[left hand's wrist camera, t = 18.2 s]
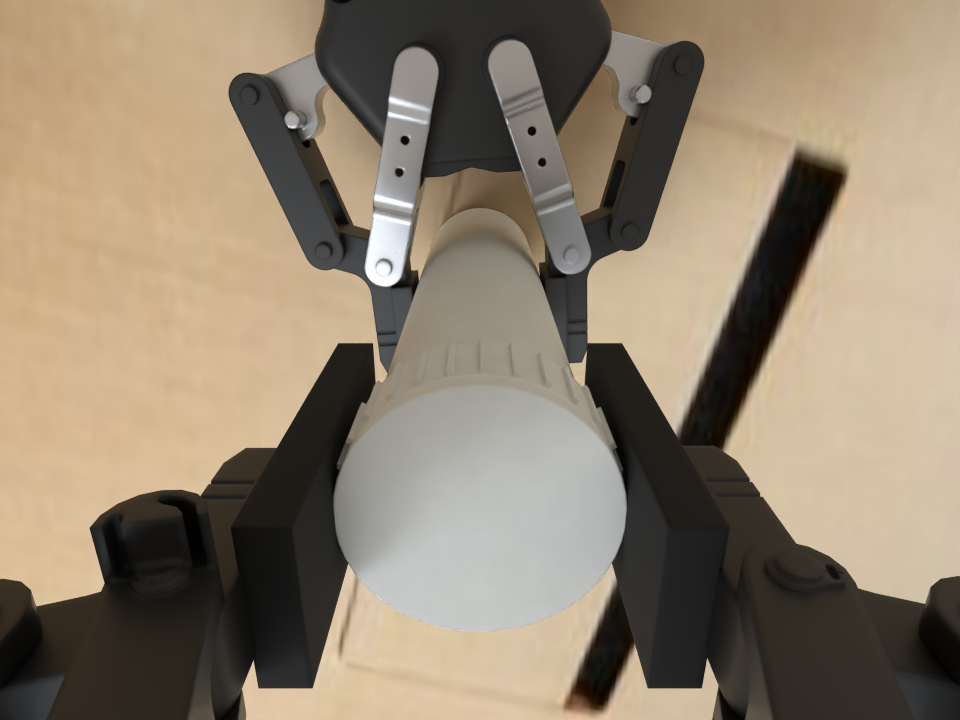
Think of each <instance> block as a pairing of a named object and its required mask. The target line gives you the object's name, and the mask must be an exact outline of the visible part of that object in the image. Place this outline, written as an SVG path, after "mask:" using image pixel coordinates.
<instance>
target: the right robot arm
mask: <svg viewBox="0 0 960 720" xmlns="http://www.w3.org/2000/svg"><path fill="white" fill-rule="evenodd" d="M601 67H602V68H604V69H605V70H606V71H607V72H608V73H609V74H610V76H611V79H612V83H613V91H612V102H613V105H614V107H615V109H616V110H617V111H618V112H619V113H621V114H622V115H625V116H626V120H625V123H624V126H623V130H622V133H621V136H620V140H619V143H618V147H617V150H616V153H615V157H614V160H613V163H612V167H611V170H610V174H609V177H608V180H607V184H606V187H605V190H604V194H603V197H602V201H601V204H600V207H599V209H596V210H594V211H592V212H590V213H587V214H585V215H583V216H580V215H579V211H578V208H577V205H576V202H575V198H574V193H573V188H572V185H571V181H570V178H569V175H568V172H567V169H566V165H565V162H564V159H563V156H562V153H561V150H560V146H559V143H558V140H557V135H558V134H559V132H560V131H561V129H562V128H563V126H564V124H565V123H566V121H567V120H568V118H569V117H570V115H571V113H572V112H573V110H574V109H575V107H576V105H577V104H578V102H579V101H580V99H581V98H582V96H583V94H584V93H585V91H586V90H587V88H588V87H589V85H590V83H591V82H592V80H593V79H594V77H595V76H596V74H597V72H598V71H599V69H600V68H601ZM703 68H704V56H703V53H702V51H701V49H700V48H699V47H698V46H697V45H696V44H695V43H693V42H689V41H681V42H674V43H670V44H663V43H659V42H655V41H651V40H647V39H644V38H640V37H636V36H632V35H628V34H625V33H621V32H617V31H613V30H612V29H611V23H610V19H609V16H608V14H607V12H606V10H605V8H604V6H603V5H602V3H601V0H325V4H324V13H323V18H322V22H321V25H320V28H319V31H318V33H317V37H316V41H315V53H313V54H311V55H308V56H306V57H304V58H302V59H299V60H297V61H295V62H292V63H290V64H288V65H286V66H283V67H281V68H279V69H276V70H274V71H272V72H270V73H267V74H264V75H262V74H254V73H242V74H239V75H237V76H236V77H235V78H234V79H233V80H232V82H231V84H230V87H229V99H230V102H231V104H232V106H233V108H234V110H235V112H236V115H237V117H238V119H239V121H240V123H241V125H242V127H243V129H244V131H245V133H246V135H247V137H248V139H249V141H250V143H251V145H252V147H253V149H254V151H255V153H256V155H257V158H258V160H259V162H260V164H261V166H262V168H263V170H264V172H265V174H266V176H267V178H268V180H269V182H270V184H271V186H272V188H273V190H274V192H275V194H276V196H277V199H278V201H279V203H280V205H281V207H282V209H283V211H284V213H285V215H286V217H287V219H288V221H289V223H290V225H291V227H292V229H293V231H294V233H295V235H296V237H297V240H298V242H299V244H300V246H301V248H302V250H303V252H304V254H305V256H306V258H307V260H308V261H309V262H310V264H311V265H313V266H314V267H316V268H318V269H320V270H331V269H333V268H334V269H338V270H341V271H345V272H349V273H352V274H355V275H357V276H359V277H360V278H362V279H363V280H364V281H365V282H366V283H367V285H368V286H369V288H370V291H371V295H372V303H373V310H374V317H375V325H376V332H377V340H378V345H379V346H378V347H379V354H380V361H381V363H382V365H383V366H384V368H385V370H386V371H387V373H388V371H389V368H390V365H391V362H392V360H393V357H394V354H395V351H396V348H397V345H398V342H399V339H400V336H401V333H402V330H403V327H404V324H405V321H406V319H407V316H408V313H409V310H410V307H411V304H412V301H413V298H414V295H415V292H416V289H417V286H418V283H419V277H418V270H415V271H411V264H410V256H411V251H412V245H413V240H414V235H415V230H416V225H417V219H418V214H419V209H420V205H421V201H422V197H423V192H424V187H425V182H426V177H440V176H447V175H450V174H453V173H455V172H458V171H461V170H464V169H467V168H470V167H473V168H479V169H483V170H488V171H493V172H511V171H520V173H521V176H522V179H523V182H524V184H525V187H526V190H527V193H528V196H529V198H530V201H531V204H532V207H533V210H534V213H535V215H536V218H537V221H538V224H539V227H540V230H541V233H542V236H543V239H544V242H545V262H542V263H539V272H540V280H541V283H542V286H543V289H544V292H545V294H546V297H547V300H548V303H549V306H550V309H551V312H552V315H553V318H554V321H555V324H556V327H557V330H558V333H559V336H560V339H561V342H562V344H563V347H564V350H565V353H566V356H567V359H568V362H569V363H580V362H582V360H583V358H584V355H585V353H586V351H587V277H588V273H589V270H590V269H591V267H592V266H593V264H594V263H595V262H596V261H598V260H599V259H601V258H603V257H605V256H607V255H610V254H612V253H614V252H617V251H619V250H624V251H632V250H635V249H638V248H639V247H641V246H642V245H643V244H644V243H645V241H646V240H647V238H648V235H649V232H650V229H651V226H652V223H653V220H654V217H655V214H656V211H657V208H658V205H659V202H660V199H661V196H662V193H663V190H664V187H665V184H666V181H667V178H668V175H669V172H670V169H671V166H672V163H673V160H674V156H675V153H676V150H677V147H678V144H679V141H680V138H681V135H682V132H683V129H684V126H685V123H686V120H687V117H688V114H689V111H690V108H691V105H692V102H693V99H694V96H695V93H696V90H697V87H698V84H699V81H700V78H701V75H702V72H703ZM330 88H331V89H332V90H333V91H334V92H335V93H336V94H337V96H338V97H339V98H340V99H341V100H342V102H343V103H344V104H345V105H346V106H347V107H348V109H349V110H350V111H351V112H352V113H353V114H354V116H355V117H356V118H357V119H358V120H359V122H360V123H361V124H362V125H363V126H364V127H365V129H366V130H367V131H368V132H369V133H370V135H371V136H372V137H373V138H374V139H375V140H376V142H377V143H378V144H379V145H380V146H381V147H382V150H381V156H380V162H379V169H378V175H377V181H376V187H375V193H374V200H373V218H372V224H371V230H367V229H364V228H360V227H357V226H354V225H353V223H352V221H351V219H350V216H349V214H348V212H347V210H346V208H345V205H344V203H343V201H342V199H341V196H340V194H339V192H338V190H337V188H336V185H335V183H334V181H333V179H332V177H331V174H330V172H329V170H328V168H327V165H326V163H325V161H324V159H323V157H322V154H321V152H320V150H319V148H318V146H317V143H316V141H315V139H314V138H316V137H318V136H319V135H320V134H321V133H322V131H323V130H324V127H325V115H324V111H323V98H324V95H325V93H326V92H327V91H328V90H329V89H330Z"/></svg>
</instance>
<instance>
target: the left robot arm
mask: <svg viewBox="0 0 960 720" xmlns="http://www.w3.org/2000/svg"><path fill="white" fill-rule="evenodd" d="M375 383H376V382H375V367H374V352H373V343H338V345H337V347H336V348H335V350H334V352H333V354H332V355H331V357H330V359H329V360H328V362H327V364H326V365H325V367H324V369H323V371H322V372H321V374H320V376H319V377H318V379H317V381H316V382H315V384H314V386H313V388H312V389H311V391H310V393H309V394H308V396H307V398H306V399H305V401H304V403H303V405H302V406H301V408H300V410H299V411H298V413H297V415H296V416H295V418H294V420H293V422H292V423H291V425H290V427H289V428H288V430H287V432H286V433H285V435H284V437H283V439H282V440H281V442H280V444H279V445H278V447H277V448H245V449H244V450H242V451H241V452H239V453H238V454H237V455H235V456H234V457H232V458H231V459H229V460H228V461H226V462H225V463H224V464H223V465H222V466H221V468H220V469H219V471H218V472H217V473H216V475H215V476H214V478H213V479H212V480H211V484H209V485H208V486H207V487H206V489H205V490H204V492H203V493H202V495H201V496H199V495H198V494H196V493H192V492H188V491H184V490H161V491H156V492H151V493H147V494H142V495H138V496H136V497H133V498H131V499H128V500H126V501H123V502H121V503H119V504H117V505H115V506H114V507H112V508H111V509H109V510H108V511H106V512H105V513H103V514H102V515H100V516H99V518H98V519H97V520H96V521H95V522H94V523H93V525H92V526H91V527H90V531H91V535H92V539H93V542H94V546H95V550H96V553H97V557H98V560H99V564H100V568H101V571H102V575H103V579H104V582H105V584H104V586H103V589H102V591H101V592H98V593H95V594H91V595H88V596H83V597H79V598H74V599H70V600H65V601H60V602H56V603H51V604H46V605H42V606H37V607H36V605H35V602H34V599H33V596H32V593H31V590H30V589H29V588H28V587H27V586H25V585H24V584H23V583H22V582H20V581H13V580H7V579H0V720H246V710H245V703H244V697H243V692H242V687H243V684H244V682H245V679H246V677H247V675H248V672H249V670H250V667H251V665H252V662H253V660H254V665H255V670H256V676H257V682H258V687H259V688H313V685H314V681H315V678H316V674H317V671H318V667H319V664H320V660H321V657H322V653H323V650H324V646H325V643H326V639H327V636H328V632H329V629H330V625H331V622H332V618H333V615H334V611H335V608H336V605H337V601H338V598H339V594H340V591H341V587H342V584H343V580H344V577H345V573H346V570H347V566H348V562H347V560H346V559H345V556H344V554H343V552H342V550H341V547H340V545H339V542H338V539H337V535H336V527H335V517H334V507H333V494H334V489H335V484H336V479H337V476H338V473H339V471H340V470H338V469H337V462H338V460H339V457H340V455H341V452H342V450H343V447H344V445H345V442H346V440H347V437H348V435H349V432H350V430H351V427H352V425H353V422H354V419H355V417H356V414H357V412H358V409H359V407H360V405H361V403H362V402H363V403H365V404H367V402H368V400H369V398H370V396H371V393H372V391H373V388H374V385H375ZM585 385H586V386H587V387H588V388H589V391H590V393H591V396H592V399H593V401H594V404H595V406H596V409H597V408H599V407H601V409H602V411H603V413H604V416H605V418H606V421H607V423H608V426H609V429H610V431H611V434H612V436H613V439H614V441H615V444H616V446H617V448H615V450H616V452H617V455H618V457H619V460H620V463H621V465H622V468H623V475H622V476H623V480H624V484H625V489H626V495H627V511H626V521H625V530H624V535H623V539H622V542H621V545H620V547H619V549H618V552H617V554H616V557H615V558H614V560H613V562H612V565H613V568H614V572H615V575H616V579H617V582H618V586H619V589H620V593H621V596H622V600H623V603H624V607H625V610H626V614H627V617H628V621H629V624H630V628H631V631H632V635H633V638H634V642H635V645H636V649H637V652H638V656H639V659H640V663H641V666H642V670H643V673H644V677H645V680H646V684H647V687H648V688H702V684H703V678H704V673H705V667H706V661H707V658H708V660H709V663H710V665H711V668H712V670H713V673H714V675H715V678H716V680H717V682H718V685H719V687H718V692H717V697H716V703H715V708H714V713H713V718H712V720H960V576H956V577H950V578H943V579H940V580H939V581H937V582H936V583H935V584H934V585H933V586H931V588H930V591H929V594H928V597H927V600H926V603H925V604H922V603H918V602H913V601H908V600H904V599H899V598H894V597H890V596H885V595H880V594H876V593H872V592H869V591H865V590H861V589H858V588H857V585H856V583H855V581H854V580H853V579H852V577H851V576H850V574H849V573H848V572H847V570H846V569H845V568H844V567H842V566H841V565H840V564H838V563H837V562H836V561H835V560H833V559H832V558H831V557H829V556H827V555H825V554H823V553H821V552H819V551H817V550H814V549H812V548H810V547H807V546H803V545H799V544H796V543H795V541H794V540H793V539H792V537H791V536H790V534H789V533H788V532H787V530H786V529H785V527H784V526H783V525H782V523H781V522H780V520H779V519H778V518H777V516H776V515H775V513H774V512H773V511H772V509H771V508H770V506H769V505H768V504H767V502H766V501H765V499H764V498H763V497H760V492H759V491H758V490H757V488H756V487H755V486H754V484H753V483H752V482H750V479H749V477H748V476H747V474H746V473H745V472H744V470H743V469H742V467H741V466H740V465H739V463H738V462H737V461H736V460H735V459H733V458H732V457H730V456H729V455H727V454H726V453H724V452H723V451H721V450H720V449H718V448H717V447H715V446H682V445H681V443H680V441H679V440H678V438H677V436H676V434H675V433H674V431H673V429H672V428H671V426H670V424H669V423H668V421H667V419H666V417H665V416H664V414H663V412H662V411H661V409H660V407H659V406H658V404H657V402H656V400H655V399H654V397H653V395H652V394H651V392H650V390H649V389H648V387H647V385H646V383H645V382H644V380H643V378H642V377H641V375H640V373H639V372H638V370H637V368H636V366H635V365H634V363H633V361H632V360H631V358H630V356H629V355H628V353H627V351H626V349H625V348H624V346H623V344H622V343H587V358H586V373H585Z"/></svg>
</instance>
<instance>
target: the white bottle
mask: <svg viewBox="0 0 960 720" xmlns="http://www.w3.org/2000/svg"><path fill="white" fill-rule="evenodd" d="M480 339H486V342H489V343H498V344H506V345H510V342H514V343H516V344H517V347H518V348H522V349H525V350H528V351H530V352H533V353H536V354H538V353H539V351H540V352H543V353H545V357H546V359H548V360H550V361H551V362H553V363H555V364H556V365H558V366H559V367H560V368H563V367H564V366H566V367H567V368H569V370H570V373H571V376H572V377H573V374H572V371H571V368H570V365H569V362H568V359H567V356H566V353H565V350H564V347H563V344H562V342H561V339H560V336H559V333H558V330H557V327H556V324H555V321H554V318H553V315H552V312H551V309H550V306H549V303H548V300H547V297H546V294H545V292H544V289H543V286H542V283H541V280H540V277H539V274H538V271H537V268H536V265H535V262H534V259H533V256H532V253H531V250H530V247H529V244H528V242H527V239H526V237H525V235H524V233H523V231H522V230H521V228H520V227H519V226H518V225H517V224H516V223H515V222H514V221H513V220H512V219H511V218H510V217H508V216H507V215H505V214H503V213H501V212H498V211H496V210H492V209H487V208H473V209H468V210H464V211H462V212H459V213H457V214H455V215H454V216H452V217H451V218H449V219H448V220H447V221H446V222H445V223H444V224H443V225H442V226H441V227H440V229H439V230H438V232H437V233H436V235H435V237H434V240H433V242H432V245H431V248H430V251H429V254H428V257H427V260H426V263H425V266H424V269H423V272H422V275H421V277H420V280H419V283H418V286H417V289H416V292H415V295H414V298H413V301H412V304H411V307H410V310H409V313H408V316H407V319H406V321H405V324H404V327H403V330H402V333H401V336H400V339H399V342H398V345H397V348H396V351H395V354H394V357H393V360H392V362H391V365H390V368H389V371H388V374H387V377H388V376H389V375H390V374H391V373H393V372H394V369H395V366H396V365H397V364H398V363H401V364H402V365H403V364H405V363H407V362H409V361H410V360H412V359H414V358H416V357H418V356H420V353H421V351H422V350H424V349H427V351H428V352H430V351H432V350H435V349H438V348H442V347H446V346H449V343H450V342H451V341H456V344H462V343H470V342H480ZM387 377H386V378H387ZM573 378H574V377H573Z"/></svg>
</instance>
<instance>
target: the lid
mask: <svg viewBox="0 0 960 720" xmlns="http://www.w3.org/2000/svg"><path fill="white" fill-rule="evenodd" d="M615 448H617V446H616V444H615V441H614V439H613V436H612V434H611V431H610V429H609V426H608V423H607V421H606V418H605V416H604V413H603V411H602V409H601V407H599V408H597V409H596V406H595V404H594V401H593V399H592V396H591V393H590V391H589V388H588V387H587V386H586V385H584V386H583V387H582V386H581V385H580V384H579V383H578V382H577V381H576V380H575V379H574V378H573V377H572V376H571V373H570V370H569V368H567V367H566V366H564V367H563V368H560V367H559V366H558V365H556V364H555V363H553V362H551V361H550V360H548V359H546V357H545V353H543V352H540V351H539V353H538V354H536V353H533V352H530V351H528V350H525V349H522V348H518V347H517V344H516V343H514V342H510V345H506V344H498V343H489V342H486V339H480V342H470V343H462V344H456V341H451V342H450V343H449V346H446V347H442V348H438V349H435V350H432V351H430V352H428V351H427V349H424V350H422V351H421V353H420V356H418V357H416V358H414V359H412V360H410V361H409V362H407V363H405V364H403V365H402V364H401V363H398V364H397V365H396V366H395V369H394V372H393V373H391V374H390V375H389V376H388V377H387V378H386V379H385V380H384V381H383V382H382V383H381V382H380V381H377V382H376V383H375V385H374V388H373V391H372V393H371V396H370V398H369V400H368V402H367V404H365V403H363V402H362V403H361V405H360V407H359V409H358V412H357V414H356V417H355V419H354V422H353V425H352V427H351V430H350V432H349V435H348V437H347V440H346V442H345V445H344V447H343V450H342V452H341V455H340V457H339V460H338V462H337V469H338V470H340V471H339V473H338V476H337V479H336V484H335V489H334V494H333V507H334V517H335V527H336V535H337V539H338V542H339V545H340V547H341V550H342V552H343V554H344V556H345V559H346V560H347V562H348V563H349V565H350V567H351V568H352V570H353V572H354V573H355V574H356V575H357V577H358V578H359V579H360V580H361V581H362V583H363V584H364V585H365V586H366V587H367V588H368V589H369V590H370V591H371V592H372V593H374V594H375V595H376V596H377V597H378V598H380V599H381V600H382V601H384V602H385V603H386V604H388V605H389V606H391V607H392V608H394V609H396V610H398V611H399V612H401V613H403V614H405V615H407V616H409V617H411V618H414V619H416V620H418V621H421V622H424V623H427V624H430V625H434V626H437V627H442V628H447V629H452V630H459V631H469V632H491V631H501V630H509V629H514V628H518V627H523V626H527V625H530V624H533V623H536V622H539V621H542V620H544V619H546V618H549V617H551V616H553V615H555V614H557V613H559V612H561V611H562V610H564V609H566V608H568V607H569V606H571V605H572V604H574V603H575V602H576V601H578V600H579V599H580V598H582V597H583V596H584V595H586V594H587V593H588V592H589V591H590V590H591V589H592V588H593V587H594V586H595V585H596V584H597V583H598V582H599V580H600V579H601V578H602V576H603V575H604V574H605V573H606V571H607V570H608V568H609V567H610V565H611V563H612V562H613V560H614V558H615V557H616V554H617V552H618V549H619V547H620V545H621V542H622V539H623V535H624V530H625V521H626V511H627V495H626V489H625V484H624V480H623V476H622V475H623V468H622V465H621V463H620V460H619V457H618V455H617V452H616V450H615Z"/></svg>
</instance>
